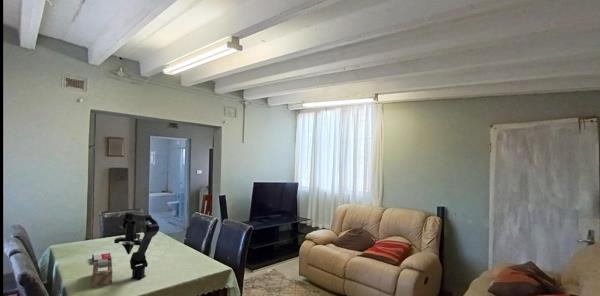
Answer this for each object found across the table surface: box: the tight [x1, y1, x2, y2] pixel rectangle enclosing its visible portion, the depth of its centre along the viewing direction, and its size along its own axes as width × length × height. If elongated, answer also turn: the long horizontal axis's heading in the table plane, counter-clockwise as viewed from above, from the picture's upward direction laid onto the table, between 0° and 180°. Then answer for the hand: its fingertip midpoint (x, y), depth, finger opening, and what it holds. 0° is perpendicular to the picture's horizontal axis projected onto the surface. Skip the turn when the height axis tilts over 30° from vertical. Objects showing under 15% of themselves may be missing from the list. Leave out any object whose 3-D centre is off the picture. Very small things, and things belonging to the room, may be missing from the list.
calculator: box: [91, 251, 112, 265], centre depth 237 cm, size 11×4×15 cm
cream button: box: [98, 267, 108, 272], centre depth 199 cm, size 5×5×3 cm
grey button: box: [98, 259, 108, 266], centre depth 208 cm, size 5×5×3 cm
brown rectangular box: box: [91, 259, 113, 288], centre depth 203 cm, size 10×22×8 cm, turn 31°
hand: (128, 254), depth 217 cm, fingers closed
